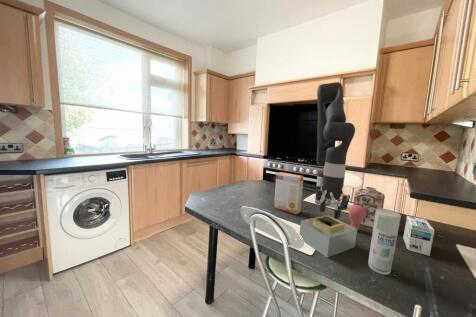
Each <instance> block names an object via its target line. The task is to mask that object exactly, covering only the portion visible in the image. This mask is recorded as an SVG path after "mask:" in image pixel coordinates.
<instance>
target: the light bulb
mask: <svg viewBox="0 0 476 317" xmlns="http://www.w3.org/2000/svg"><path fill="white" fill-rule="evenodd" d="M347 213H348V216H349V219H350V224H349V225H350V226H352V227H354V228H356V229H357V231H359V229H360V225H362V224H361V221H362V220H363V219H364V218H365V216H366V211H365V209H364V208H363V207H362V206H360V205H353V204H352V205H351V206H349V208H348V209H347Z"/></svg>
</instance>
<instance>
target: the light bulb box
mask: <svg viewBox="0 0 476 317" xmlns="http://www.w3.org/2000/svg"><path fill="white" fill-rule="evenodd" d="M434 236H435V229H434V227H433V226H432V225H431V223H430V222H429V221H428V220H427V219H424V218H419V217H415V216H410V215H406V218H405V226H404V233H403V236H402V238H403V242H404V244H405V247H406V249H408V250H407V251H411V252H412V253H413V252H415V253H418V254H421V255H424V256H429V257H430V256H431V255H430V254H431V251H432V244H433V240H434Z"/></svg>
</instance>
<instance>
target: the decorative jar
mask: <svg viewBox="0 0 476 317" xmlns="http://www.w3.org/2000/svg"><path fill="white" fill-rule="evenodd" d="M385 199H386V197H385V193H382V192H380V191H378V190H377V188H375V187H372V186H365V187H364V188H358V189H356V191H355V192H354V196H353V202H352V205H360V206H362V207H363V208H364V209H365V211H366V216H365V218H364V219H363V220H362V221H361V224H360V225H363V226H366V227H369V228H372V229H373V226H374V219H375V212H376V209H379V208H382V209H384V206H385Z"/></svg>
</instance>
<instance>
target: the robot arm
mask: <svg viewBox="0 0 476 317" xmlns="http://www.w3.org/2000/svg"><path fill="white" fill-rule="evenodd" d="M316 92H317V93H316V98H317V99H316V100H317V102H316V103H317V134H316V135H317V147H316V148H317V150H316V164H317V165H318V166H323V170H318V171H317V176H316V186H315V196H314V203H315V204H317V205H319V212H321V213H325V212H326V208H327V206H330V205H331V204H332V205H333V206H334V214H333V218H335V219H337V220H339V219H340V218H341V213H342V211H346V210H348V209H347V208H348V207H349V206H348V205H349V202H350V200H351V195H350V194H345V193H344V192H343V188H344V183H345V178H346V163H347V154H348V151H349V149H350V145H351V143H352V141H353V139H354V136H355V134H356V127H355V125H354V123H351V122H347V116H346V113H345V109H344V89H343V84H342V83H341V82H339V81H335V82H329V83H322V84H319V85H318V86H317V91H316ZM325 104H329V105H328V107H327V108H326V105H325ZM330 142H341V143H340V144H339V145H337V146H331V147H328V148H327V149H326V150H324V149H325V148H326V147H327V146H328V145H329V143H330Z"/></svg>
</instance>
